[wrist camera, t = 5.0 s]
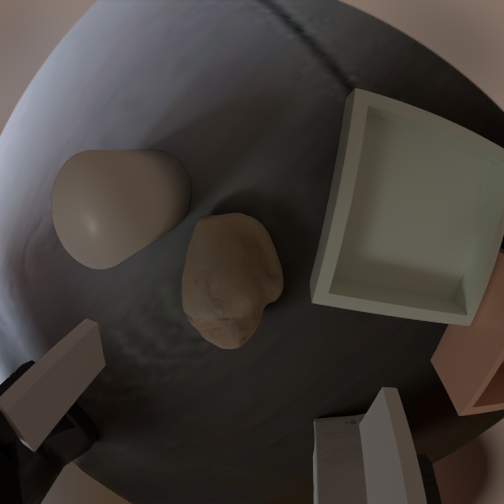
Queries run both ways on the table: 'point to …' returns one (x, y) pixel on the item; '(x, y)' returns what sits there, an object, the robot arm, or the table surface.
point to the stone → (229, 278)
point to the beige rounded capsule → (117, 203)
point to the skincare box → (339, 461)
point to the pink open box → (476, 353)
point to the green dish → (409, 215)
